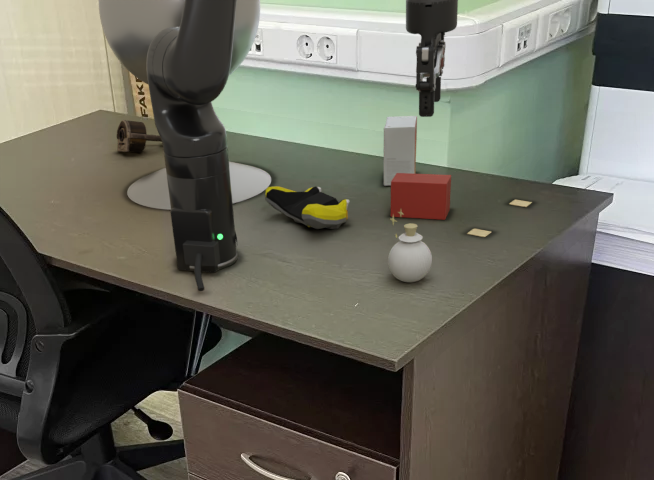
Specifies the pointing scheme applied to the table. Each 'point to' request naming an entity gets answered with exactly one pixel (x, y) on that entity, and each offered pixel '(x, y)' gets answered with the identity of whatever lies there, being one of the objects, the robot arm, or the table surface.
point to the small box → (399, 146)
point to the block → (420, 195)
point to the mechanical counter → (133, 136)
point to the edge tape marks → (484, 233)
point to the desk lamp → (131, 50)
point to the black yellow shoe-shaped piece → (309, 206)
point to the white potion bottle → (409, 255)
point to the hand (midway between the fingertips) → (429, 108)
